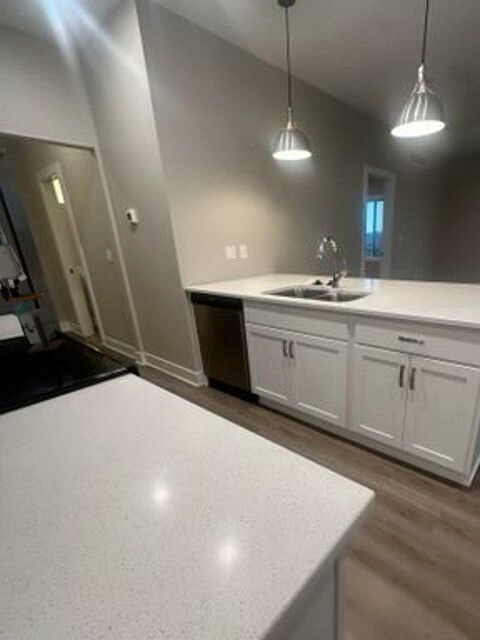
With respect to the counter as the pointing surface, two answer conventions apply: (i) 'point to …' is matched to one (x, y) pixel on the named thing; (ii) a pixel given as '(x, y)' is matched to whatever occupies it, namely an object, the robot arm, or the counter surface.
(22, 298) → the ring
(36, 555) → the counter surface
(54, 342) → the peg on round base
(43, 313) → the ink box
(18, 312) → the spray can
